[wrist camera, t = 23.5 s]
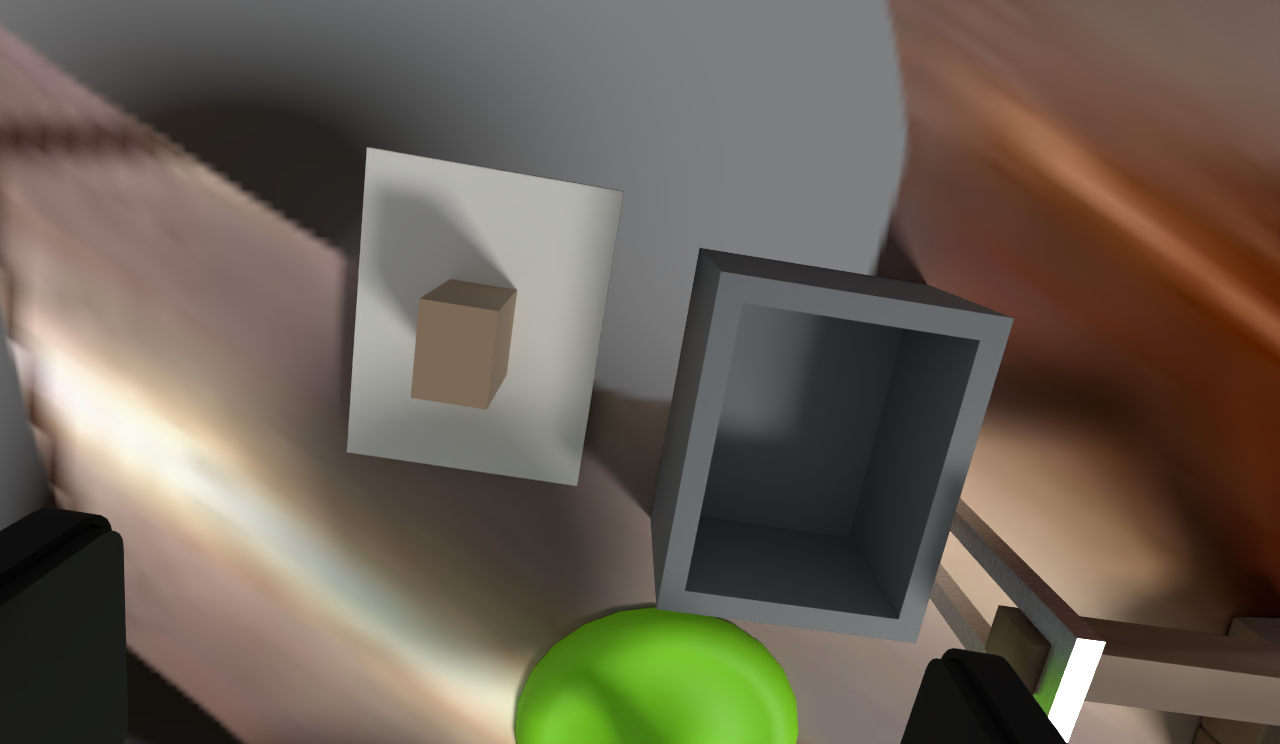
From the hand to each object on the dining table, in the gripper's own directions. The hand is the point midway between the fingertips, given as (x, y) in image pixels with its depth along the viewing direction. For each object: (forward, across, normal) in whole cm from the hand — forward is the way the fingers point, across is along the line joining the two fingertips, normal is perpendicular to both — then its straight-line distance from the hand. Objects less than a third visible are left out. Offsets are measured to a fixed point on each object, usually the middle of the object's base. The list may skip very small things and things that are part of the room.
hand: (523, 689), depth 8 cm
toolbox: (+27, -11, +5) cm, 30 cm away
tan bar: (+18, -25, +9) cm, 32 cm away
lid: (+27, +6, +3) cm, 28 cm away
